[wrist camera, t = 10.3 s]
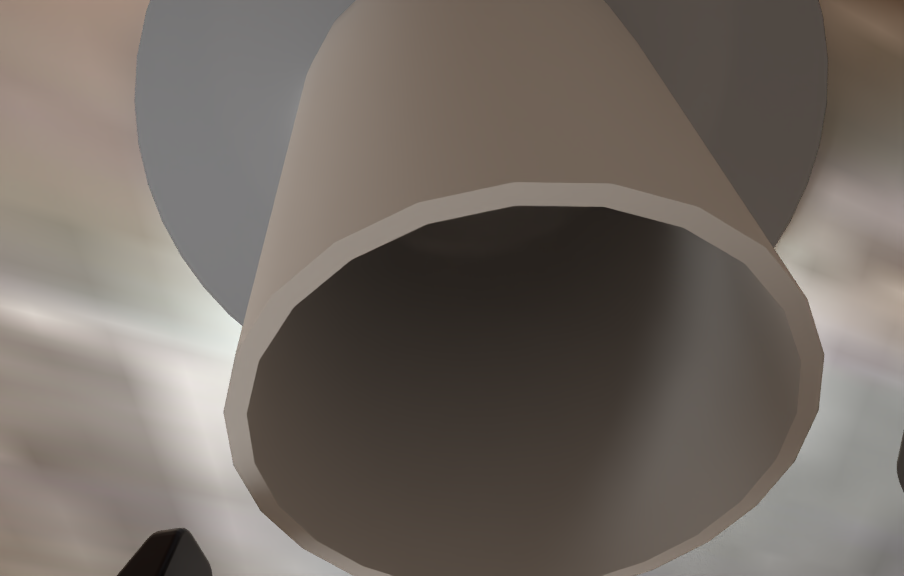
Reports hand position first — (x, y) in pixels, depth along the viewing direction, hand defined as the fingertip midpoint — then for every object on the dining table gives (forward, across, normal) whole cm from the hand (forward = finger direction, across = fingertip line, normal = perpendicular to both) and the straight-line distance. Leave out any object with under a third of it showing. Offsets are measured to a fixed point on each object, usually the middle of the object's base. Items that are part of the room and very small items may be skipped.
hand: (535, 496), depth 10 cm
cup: (+9, +1, 0) cm, 9 cm away
